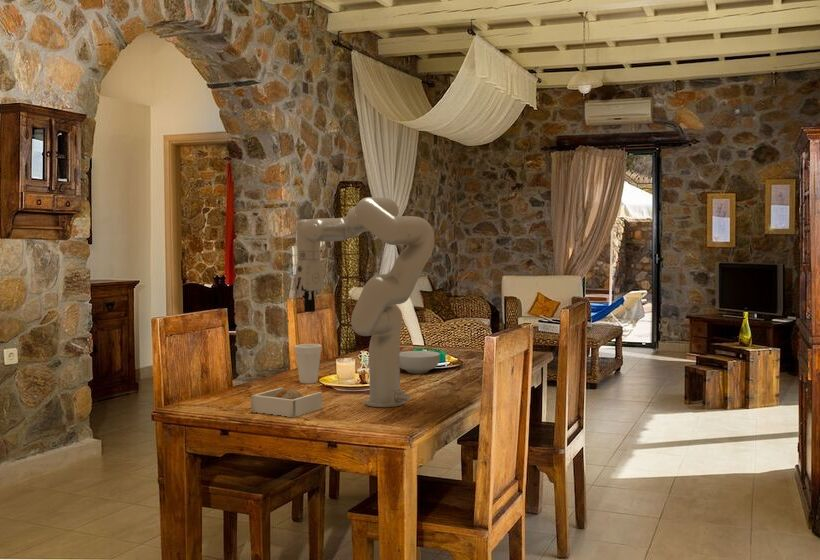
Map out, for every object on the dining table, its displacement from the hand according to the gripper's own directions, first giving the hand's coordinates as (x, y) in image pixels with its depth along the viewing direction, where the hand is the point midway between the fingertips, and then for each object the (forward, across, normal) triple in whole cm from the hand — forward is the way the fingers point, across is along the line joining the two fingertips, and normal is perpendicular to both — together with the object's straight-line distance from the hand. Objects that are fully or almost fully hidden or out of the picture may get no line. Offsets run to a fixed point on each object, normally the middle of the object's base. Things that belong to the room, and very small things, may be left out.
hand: (309, 311), depth 279 cm
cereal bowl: (+27, +50, -12) cm, 58 cm away
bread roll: (+28, -25, -10) cm, 39 cm away
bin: (+27, -26, -11) cm, 39 cm away
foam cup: (+27, +14, +12) cm, 33 cm away
